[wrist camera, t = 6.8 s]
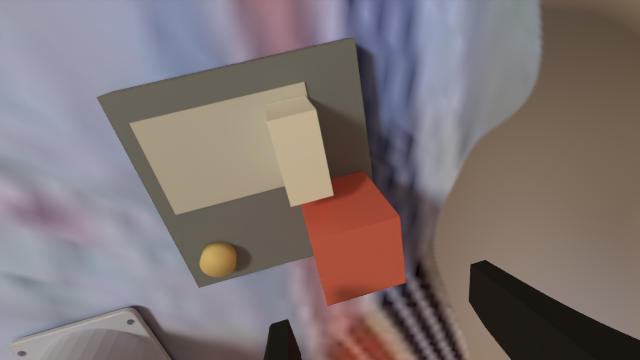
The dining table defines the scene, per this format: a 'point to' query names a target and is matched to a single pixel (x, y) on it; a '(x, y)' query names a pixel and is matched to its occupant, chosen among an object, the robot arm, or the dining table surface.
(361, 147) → the panel
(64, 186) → the dining table surface
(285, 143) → the switch handle
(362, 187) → the block
